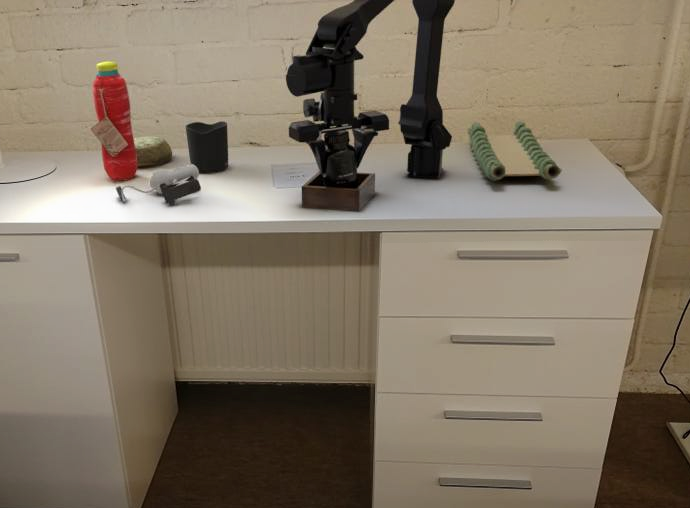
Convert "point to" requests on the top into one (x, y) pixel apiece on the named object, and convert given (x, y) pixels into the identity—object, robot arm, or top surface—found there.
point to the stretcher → (511, 154)
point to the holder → (338, 193)
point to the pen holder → (208, 146)
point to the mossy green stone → (152, 151)
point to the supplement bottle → (340, 161)
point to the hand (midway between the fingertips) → (339, 170)
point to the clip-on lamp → (171, 183)
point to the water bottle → (114, 122)
